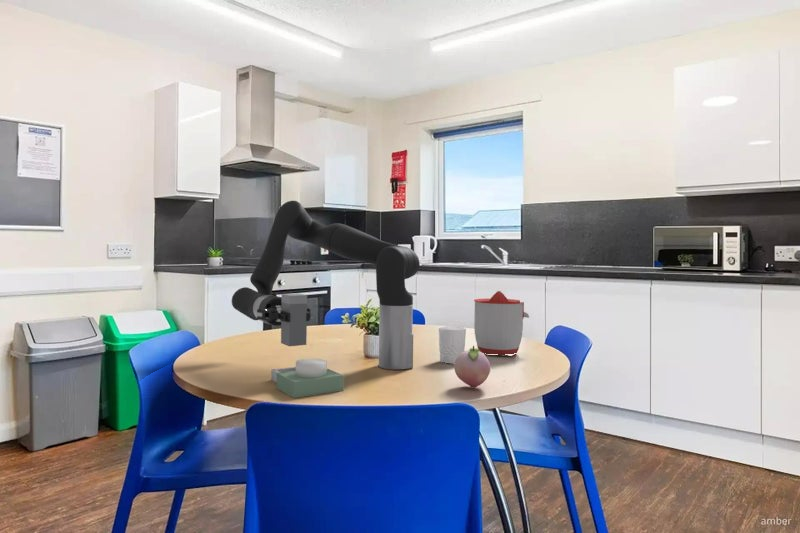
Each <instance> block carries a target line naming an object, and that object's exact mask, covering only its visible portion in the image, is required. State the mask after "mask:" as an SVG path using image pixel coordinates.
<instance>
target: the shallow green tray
mask: <svg viewBox="0 0 800 533" xmlns="http://www.w3.org/2000/svg"><path fill="white" fill-rule="evenodd" d="M270 376H271V377H270V378H271V381H273V382H275V383H276V389H278V390H280V391H281V392H282V393H285V394H287V395H288V396H290V397H292V398H293V399H297V398H298V399H299V398H304V397H311V396H316V395H322V394H323V395H324V394H330V393H335V392H342V391H344V389H345V388H344V387H345V386H344V384H345V383H344V378H345V375H344V374H342V373H340V372H336V371H334V370H331V369H329V368H328V361H327V359H323V358H315V357H314V358H313V357H311V358H303V359H298V360H296V361H295V366H290V367H283V368H274V369H273V368H272V369H271V375H270Z"/></svg>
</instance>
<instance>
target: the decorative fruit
mask: <svg viewBox="0 0 800 533" xmlns="http://www.w3.org/2000/svg"><path fill="white" fill-rule="evenodd" d="M453 365H454V366H453V368H454V372H455V375H456V377H457V378H458V379H459V380H460V381H462V382H463V383H464V384H466V385H467V386H469V387H471V388H472V387H475V388H478V387H479V386H482V384H484V383H485V382H486V381H487V379H488V377H489V375H490V373H491V363H490V361H489V359H488V357H487V356H486V354H483V353H482V352H480V350H479V349H478V348H475V345H473V346H472V347H471V348H469V349H468V350H464V352H462V353H460V354H459V355H458V356H457V358H456V360H455V364H453Z"/></svg>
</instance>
